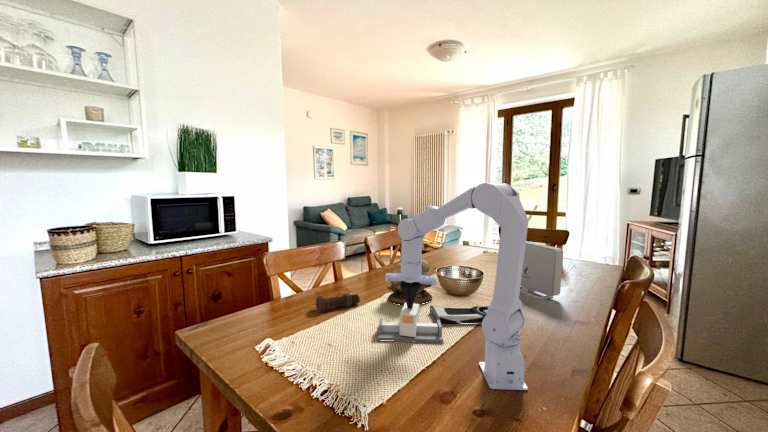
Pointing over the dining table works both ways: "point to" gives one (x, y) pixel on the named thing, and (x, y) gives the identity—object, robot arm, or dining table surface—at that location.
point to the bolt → (336, 301)
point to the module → (409, 320)
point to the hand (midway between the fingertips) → (410, 307)
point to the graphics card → (459, 314)
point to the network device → (541, 270)
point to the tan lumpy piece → (421, 294)
